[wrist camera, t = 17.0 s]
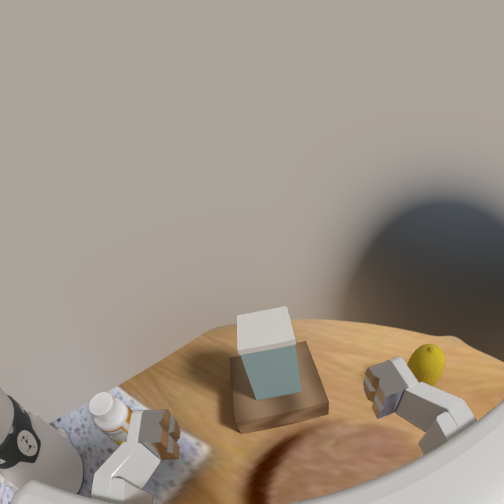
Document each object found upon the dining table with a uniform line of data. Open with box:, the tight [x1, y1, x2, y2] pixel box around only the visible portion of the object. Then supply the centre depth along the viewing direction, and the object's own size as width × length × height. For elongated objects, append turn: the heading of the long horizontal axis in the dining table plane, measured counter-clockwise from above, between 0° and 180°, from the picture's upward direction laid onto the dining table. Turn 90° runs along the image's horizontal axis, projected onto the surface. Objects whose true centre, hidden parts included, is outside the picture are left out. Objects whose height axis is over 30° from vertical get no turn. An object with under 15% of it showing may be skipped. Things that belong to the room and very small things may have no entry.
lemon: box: [407, 344, 445, 386], centre depth 29 cm, size 6×6×8 cm
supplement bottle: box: [89, 392, 133, 445], centre depth 29 cm, size 6×6×10 cm
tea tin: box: [237, 306, 302, 400], centre depth 33 cm, size 6×6×10 cm
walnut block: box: [230, 341, 329, 434], centre depth 36 cm, size 12×12×4 cm
